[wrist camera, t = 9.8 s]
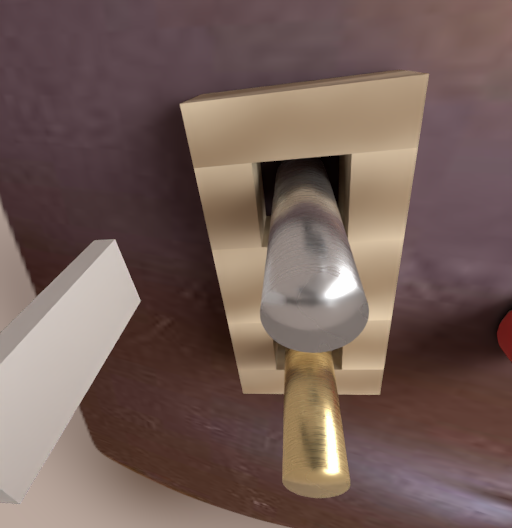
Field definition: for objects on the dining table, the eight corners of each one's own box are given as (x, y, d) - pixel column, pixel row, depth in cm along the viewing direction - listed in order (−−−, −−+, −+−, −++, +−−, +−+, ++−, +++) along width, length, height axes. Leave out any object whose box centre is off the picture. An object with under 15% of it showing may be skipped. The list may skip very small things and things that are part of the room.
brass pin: (284, 292, 24) (280, 465, 14) (325, 290, 23) (352, 467, 13) (286, 321, 25) (284, 496, 15) (325, 321, 25) (348, 499, 15)
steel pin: (274, 154, 18) (255, 273, 8) (327, 150, 18) (374, 270, 8) (277, 203, 20) (264, 352, 10) (326, 200, 20) (364, 352, 10)
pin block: (201, 94, 17) (179, 103, 14) (399, 69, 16) (429, 73, 12) (248, 352, 28) (243, 393, 24) (368, 351, 26) (379, 394, 23)
